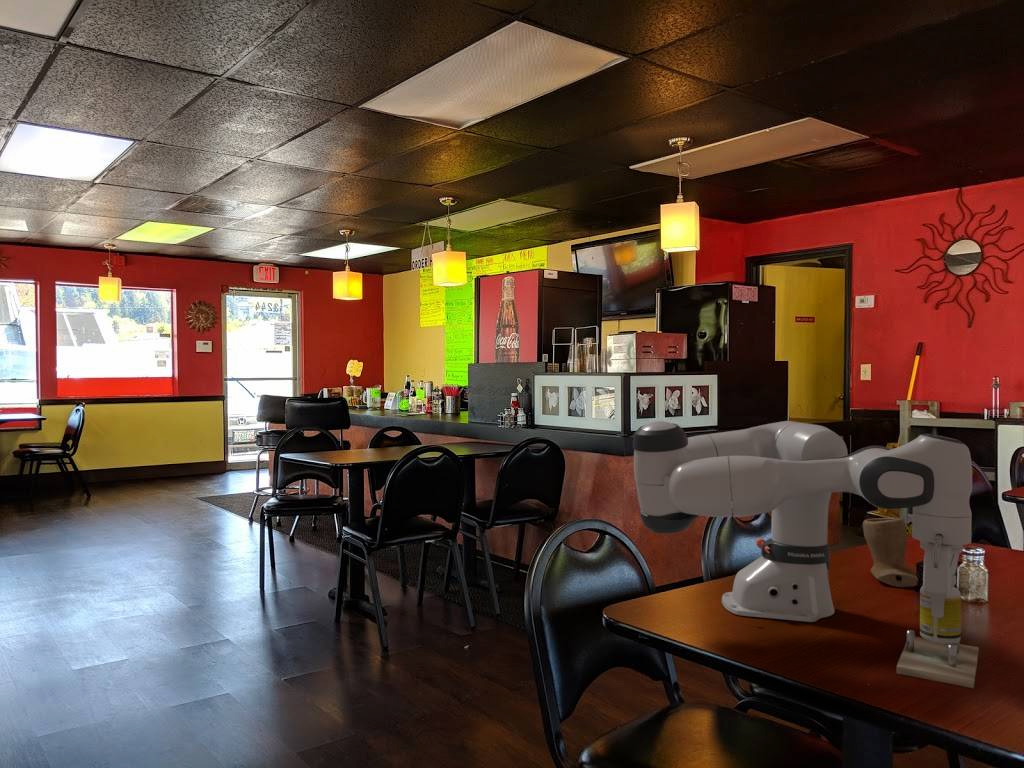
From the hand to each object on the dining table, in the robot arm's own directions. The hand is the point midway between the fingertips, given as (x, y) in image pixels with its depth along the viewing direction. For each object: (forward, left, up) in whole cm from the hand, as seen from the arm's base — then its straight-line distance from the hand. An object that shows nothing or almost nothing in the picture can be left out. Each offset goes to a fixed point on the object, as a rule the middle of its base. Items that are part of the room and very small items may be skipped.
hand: (939, 610), depth 134 cm
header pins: (-1, +1, -8) cm, 8 cm away
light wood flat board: (0, 0, -9) cm, 9 cm away
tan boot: (+12, +55, -9) cm, 57 cm away
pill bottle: (0, 0, -5) cm, 5 cm away
